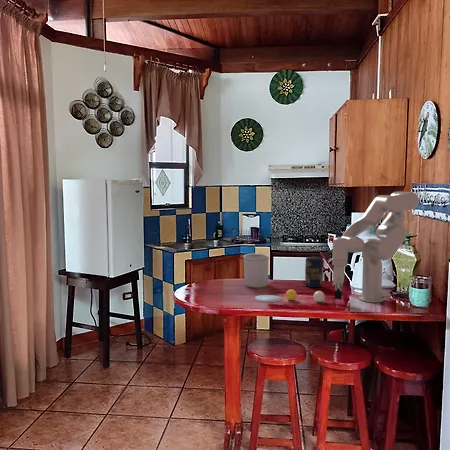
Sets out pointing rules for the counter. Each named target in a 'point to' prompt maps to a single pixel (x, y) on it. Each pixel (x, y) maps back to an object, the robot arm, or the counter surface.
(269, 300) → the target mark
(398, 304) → the counter surface
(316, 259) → the blue cylindrical canister
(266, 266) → the utensil holder
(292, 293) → the object ball
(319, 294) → the cue ball
